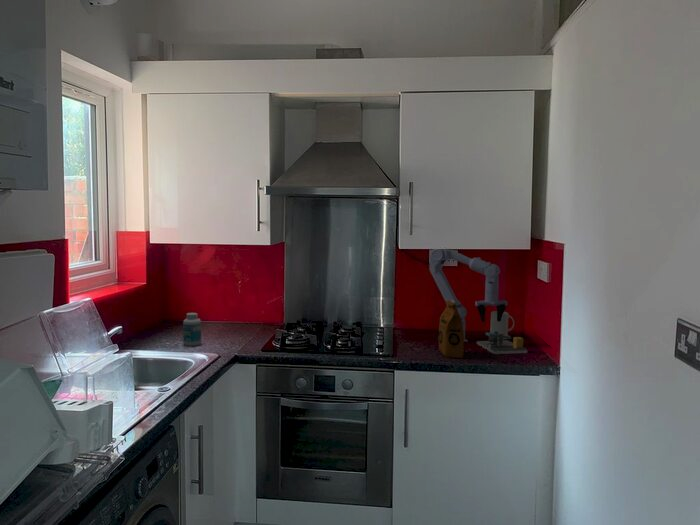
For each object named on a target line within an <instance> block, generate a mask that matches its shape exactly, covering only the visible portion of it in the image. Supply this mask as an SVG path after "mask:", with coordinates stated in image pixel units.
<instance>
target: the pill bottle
mask: <svg viewBox="0 0 700 525" xmlns="http://www.w3.org/2000/svg"><path fill="white" fill-rule="evenodd" d="M198 317H199V315H198V313H197V312H187V313H186V316H185V319H184V320H182V321H183V322H182V325H183V326H182V327H183V330H182V332H183V338H182V340H183V345H184V346H186V347H196V346H199V345H201V344H202V319H200V318H198Z"/></svg>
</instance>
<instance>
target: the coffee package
mask: <svg viewBox="0 0 700 525" xmlns="http://www.w3.org/2000/svg"><path fill="white" fill-rule="evenodd" d="M445 304H446V307H445V309H444V310H443V312H441V315H440V317H439V327H438V337H437V340H438V350H439V351H440V353H442V355H443V356H445V358H447V359H448V358H451V359H455V358H456V359H458V358H460V359H463V358H464V346H465V345H464V344H465V343H464V331H463V326H462V320H461V317H460V315H459V312H458V309H457V306H456V304H455V303H454V302H452V301H449V300H448V301H445Z"/></svg>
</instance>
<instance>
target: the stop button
mask: <svg viewBox="0 0 700 525" xmlns="http://www.w3.org/2000/svg"><path fill="white" fill-rule="evenodd" d="M488 341H489V342H493V343H495V342H497V337H496V336H488Z"/></svg>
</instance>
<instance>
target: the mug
mask: <svg viewBox="0 0 700 525" xmlns="http://www.w3.org/2000/svg"><path fill="white" fill-rule="evenodd" d="M509 318H510V319H511V320H512V326H511V327H510V328H509ZM514 327H515V320H514V318H513V316H512V315H510V313H509V312H506V311H504V313H503V315H502V318H501V321H500V322H499V321H497V310H495V311H491V313H490V326H489V328H490V331H489V333H494V332H496V331H498V334H505V335H509V334H508V332H510V331H512V330H513V329H514ZM498 340H499V338H498ZM503 340H507V339H506V338H503Z"/></svg>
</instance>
